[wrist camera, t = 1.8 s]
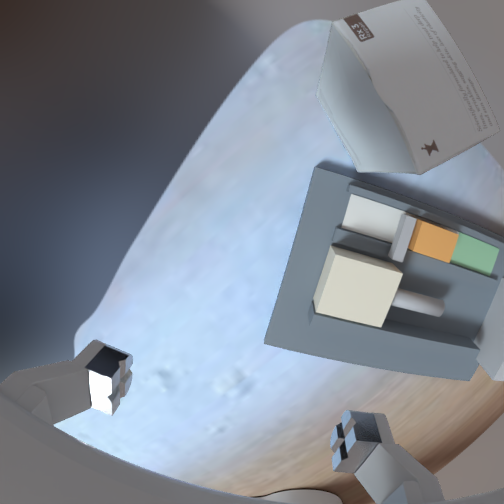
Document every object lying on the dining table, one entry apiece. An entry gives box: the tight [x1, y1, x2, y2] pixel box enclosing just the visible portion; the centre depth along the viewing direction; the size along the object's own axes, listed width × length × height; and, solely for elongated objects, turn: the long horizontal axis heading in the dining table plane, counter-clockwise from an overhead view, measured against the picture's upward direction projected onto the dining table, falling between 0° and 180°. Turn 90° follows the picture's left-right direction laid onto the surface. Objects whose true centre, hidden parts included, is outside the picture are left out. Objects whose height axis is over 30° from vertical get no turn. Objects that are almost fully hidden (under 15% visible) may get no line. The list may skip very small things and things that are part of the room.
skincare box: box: [316, 0, 500, 175], centre depth 18 cm, size 8×6×15 cm
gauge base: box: [264, 167, 504, 381], centre depth 25 cm, size 17×26×7 cm, turn 76°
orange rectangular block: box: [408, 217, 459, 263], centre depth 24 cm, size 3×4×2 cm, turn 76°
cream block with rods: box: [313, 214, 445, 327], centre depth 25 cm, size 10×12×3 cm
